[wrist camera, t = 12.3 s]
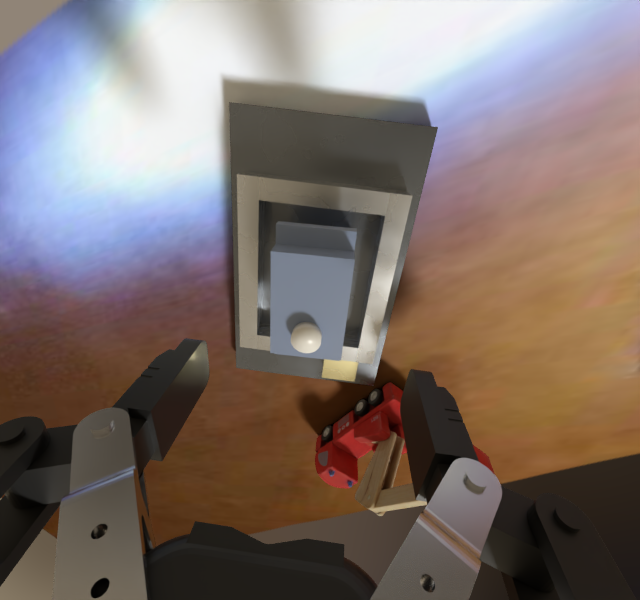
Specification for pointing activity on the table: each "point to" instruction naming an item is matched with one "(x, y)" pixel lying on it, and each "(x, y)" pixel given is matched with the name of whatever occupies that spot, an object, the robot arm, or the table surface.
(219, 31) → the table surface
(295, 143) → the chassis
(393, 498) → the toy fire truck
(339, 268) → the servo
